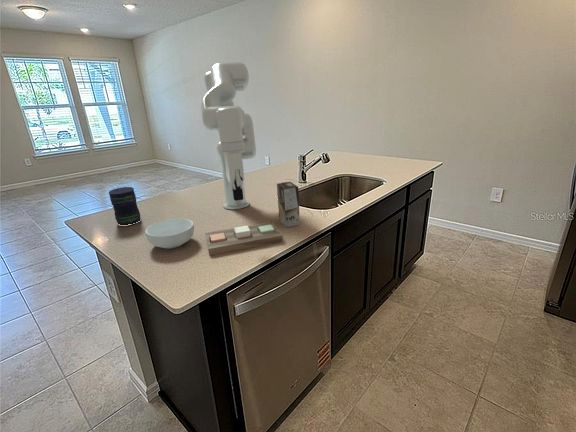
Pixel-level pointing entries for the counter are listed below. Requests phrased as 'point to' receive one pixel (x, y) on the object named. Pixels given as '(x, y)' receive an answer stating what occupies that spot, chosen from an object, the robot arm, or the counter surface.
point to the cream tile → (242, 232)
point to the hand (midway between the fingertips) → (238, 199)
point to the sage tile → (265, 229)
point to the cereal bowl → (170, 233)
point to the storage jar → (125, 205)
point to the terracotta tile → (217, 237)
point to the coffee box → (288, 204)
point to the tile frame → (242, 239)
